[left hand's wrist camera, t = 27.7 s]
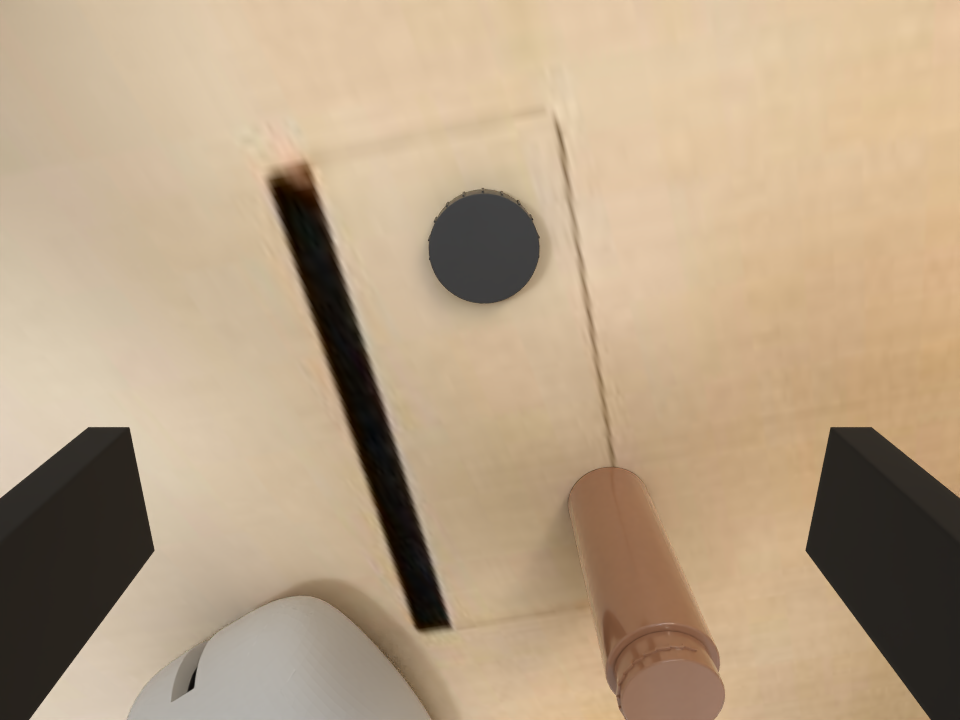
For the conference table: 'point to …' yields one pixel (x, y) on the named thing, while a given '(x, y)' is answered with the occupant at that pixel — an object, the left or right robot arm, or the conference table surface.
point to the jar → (642, 603)
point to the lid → (484, 246)
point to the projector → (281, 672)
